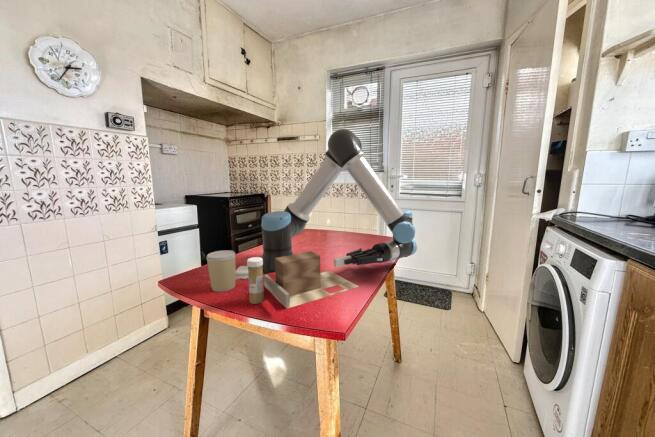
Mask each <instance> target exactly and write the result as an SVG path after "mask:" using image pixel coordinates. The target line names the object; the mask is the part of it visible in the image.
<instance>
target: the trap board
mask: <svg viewBox="0 0 655 437" xmlns="http://www.w3.org/2000/svg"><path fill="white" fill-rule="evenodd" d="M320 274H321V288H319V289H315V290H312V291H308V292H305V293H301V294H297V295H294V296H290V295H289V293H288V292H286V291H285V290H284V289H283V288H282V287H281V286H280V285H278V284H277V283H276V280H274V279H273V278H271V276H269V275H268V274H263V283H264V288H265V289H266V290H267V291H268V292H269V293H270V294H272V296H273V297H274V298H275V299H276V300H277V301H278V302H279V303H280V304H282V306H283V307H284V308H285V309H286V310H287V309H291V308H294V307H296V306H300V305H305V304H307V303H309V302H311V303H312V302H313V301H317V300H320V299H324V298H328V297H330V296H333V295H337V294H339V293H340V294H341V293H343V292H346V291H349V290H353V289H356V288H359V287H360V286H359V285H357V284H356V283H353V282H351V281H350V280H348V279H345V278H344V277H343V276H340V275H338V274H337V273H335V272H332V271H331V270H327V271H323V272H320ZM335 286H339V287H341V288H342V290H338V291H334V292H331V293H330V292H328V291H327V290H326V289H328V288H332V287H335Z"/></svg>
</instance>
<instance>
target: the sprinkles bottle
mask: <svg viewBox="0 0 655 437" xmlns="http://www.w3.org/2000/svg"><path fill="white" fill-rule="evenodd" d="M262 265H263V259H262V257H259V256H253V257H249V258H247V260H246V266H248V275H249V278H248V279H247V280H248V292H249V293H248V294H249V303H250V304H255V305H257V304H261V303H263V302H264V301H265V293H264V291H265V289H264V288H265V285H264V273H263V268H262Z"/></svg>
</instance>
